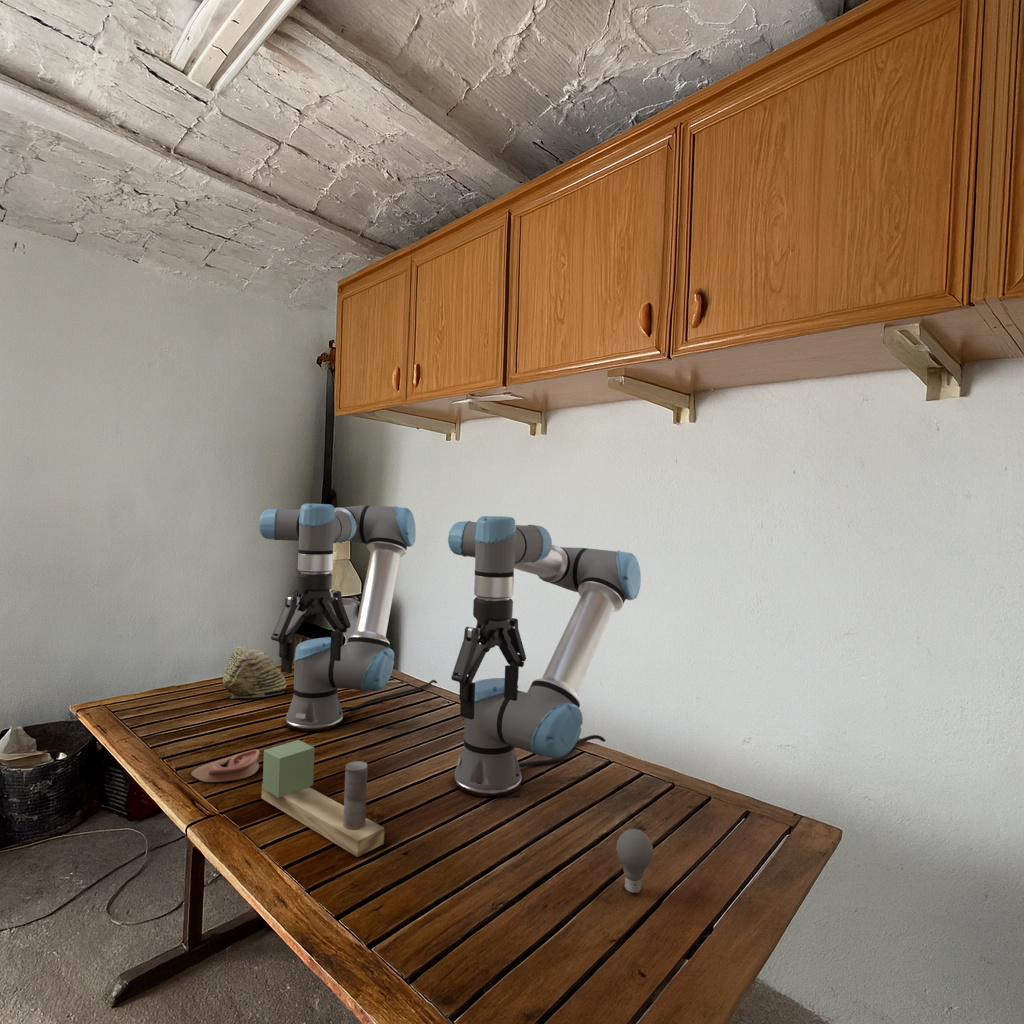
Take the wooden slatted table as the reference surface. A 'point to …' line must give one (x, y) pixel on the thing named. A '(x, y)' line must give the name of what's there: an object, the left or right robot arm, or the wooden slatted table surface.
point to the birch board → (336, 812)
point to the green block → (288, 768)
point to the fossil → (252, 674)
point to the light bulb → (634, 857)
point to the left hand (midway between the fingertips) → (311, 665)
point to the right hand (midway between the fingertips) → (489, 708)
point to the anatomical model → (229, 768)
